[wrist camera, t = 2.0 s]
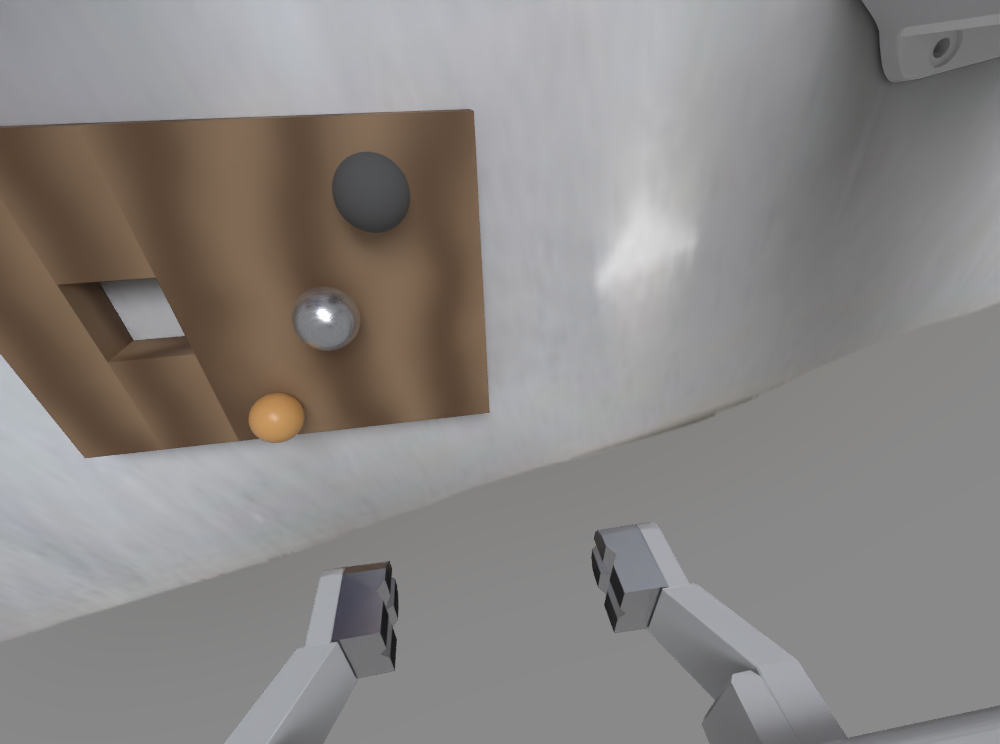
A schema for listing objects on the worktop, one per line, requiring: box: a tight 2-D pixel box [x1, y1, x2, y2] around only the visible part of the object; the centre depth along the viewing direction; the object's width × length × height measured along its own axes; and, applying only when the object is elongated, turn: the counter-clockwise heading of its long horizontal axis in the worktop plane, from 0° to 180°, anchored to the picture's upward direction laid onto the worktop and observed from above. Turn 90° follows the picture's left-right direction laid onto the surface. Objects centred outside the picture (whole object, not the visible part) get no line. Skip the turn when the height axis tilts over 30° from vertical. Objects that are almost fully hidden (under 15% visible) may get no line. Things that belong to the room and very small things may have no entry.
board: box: [0, 109, 489, 458], centre depth 24 cm, size 26×18×2 cm
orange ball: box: [249, 393, 305, 443], centre depth 25 cm, size 3×3×3 cm
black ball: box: [332, 152, 410, 233], centre depth 19 cm, size 3×3×3 cm
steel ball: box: [291, 286, 361, 351], centre depth 22 cm, size 3×3×3 cm
